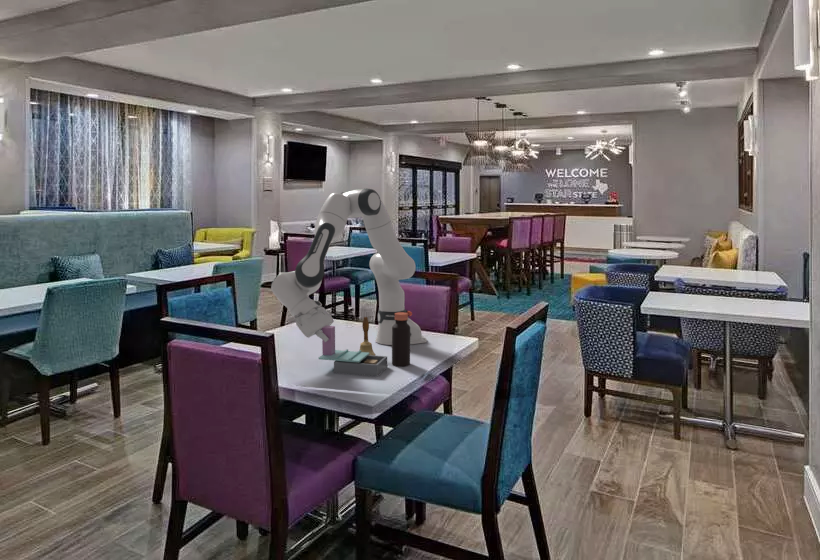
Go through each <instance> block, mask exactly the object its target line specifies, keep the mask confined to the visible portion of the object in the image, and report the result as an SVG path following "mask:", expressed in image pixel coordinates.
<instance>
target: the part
mask: <svg viewBox="0 0 820 560" xmlns="http://www.w3.org/2000/svg"><path fill="white" fill-rule="evenodd" d="M377 363H378V360H371V359H367V360H366V361H364V364H377Z"/></svg>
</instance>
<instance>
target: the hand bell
mask: <svg viewBox="0 0 820 560" xmlns="http://www.w3.org/2000/svg"><path fill="white" fill-rule="evenodd" d="M361 324H362V331H363V341H362V342H360V344H359V345H360V346H359V350H361V352H368V353H370V354H369V355H374V356H377V355H376V353H375V352H374V350H373V344H372V342H370V341H369V330H370V322H369V319H368V317H367V316H364V317H363V320H362V323H361Z"/></svg>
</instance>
